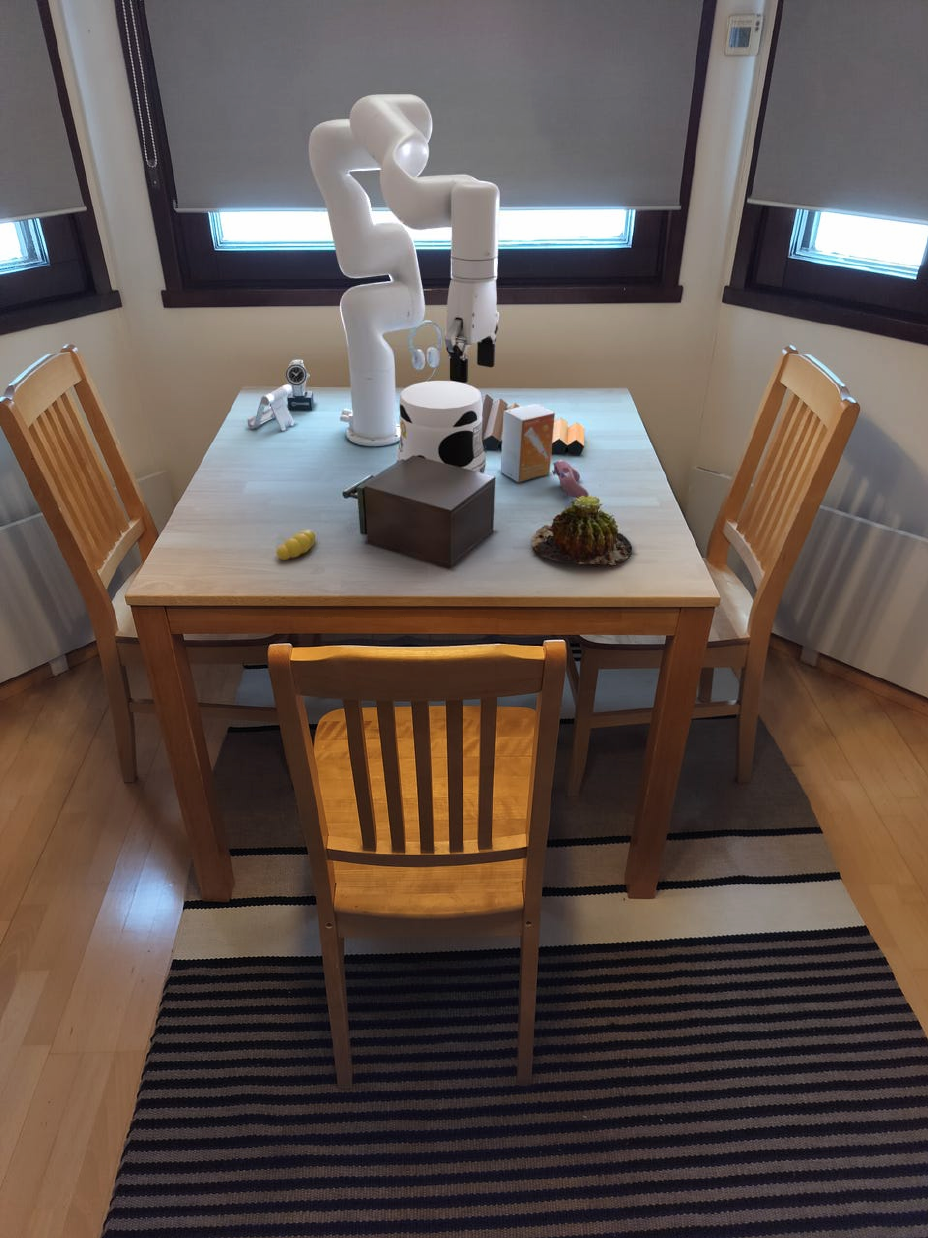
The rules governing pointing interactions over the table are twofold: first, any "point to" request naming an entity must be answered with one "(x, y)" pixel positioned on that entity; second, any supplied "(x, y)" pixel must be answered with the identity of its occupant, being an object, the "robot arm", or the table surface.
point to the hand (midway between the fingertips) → (472, 373)
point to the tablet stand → (273, 409)
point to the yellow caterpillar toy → (296, 545)
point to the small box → (527, 442)
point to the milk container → (442, 424)
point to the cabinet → (430, 510)
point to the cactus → (582, 536)
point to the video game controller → (569, 479)
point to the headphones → (432, 352)
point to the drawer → (360, 496)
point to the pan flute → (495, 411)
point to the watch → (298, 387)
